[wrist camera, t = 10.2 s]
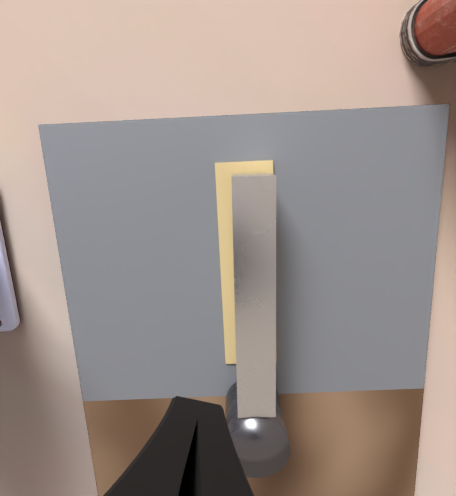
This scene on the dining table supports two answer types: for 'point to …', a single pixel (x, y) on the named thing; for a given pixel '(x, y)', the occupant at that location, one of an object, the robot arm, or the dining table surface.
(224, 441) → the robot arm
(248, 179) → the lock bar
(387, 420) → the plate
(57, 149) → the door plate
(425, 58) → the red tin can
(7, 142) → the dining table surface
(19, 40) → the dining table surface
